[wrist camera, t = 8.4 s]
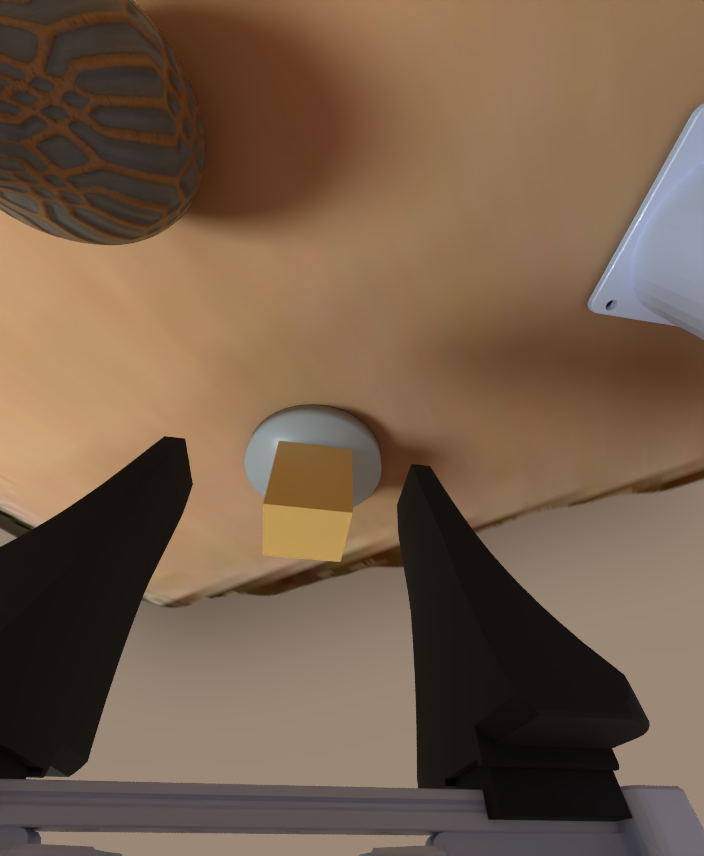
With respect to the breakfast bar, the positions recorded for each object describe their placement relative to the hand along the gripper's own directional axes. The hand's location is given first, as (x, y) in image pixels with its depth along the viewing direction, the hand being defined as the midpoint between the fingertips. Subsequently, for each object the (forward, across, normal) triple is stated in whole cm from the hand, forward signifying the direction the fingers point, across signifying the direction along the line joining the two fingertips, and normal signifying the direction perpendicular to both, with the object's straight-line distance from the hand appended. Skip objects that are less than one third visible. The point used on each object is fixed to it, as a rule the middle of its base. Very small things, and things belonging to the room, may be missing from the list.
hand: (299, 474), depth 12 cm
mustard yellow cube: (+9, 0, +8) cm, 12 cm away
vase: (+10, +8, -8) cm, 15 cm away
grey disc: (+10, 0, +8) cm, 13 cm away
